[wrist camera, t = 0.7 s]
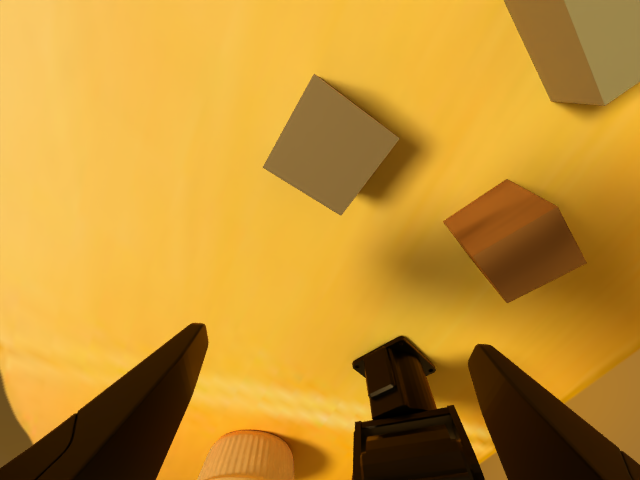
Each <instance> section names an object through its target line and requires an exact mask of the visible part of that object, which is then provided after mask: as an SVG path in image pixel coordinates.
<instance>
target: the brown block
mask: <svg viewBox="0 0 640 480" xmlns="http://www.w3.org/2000/svg"><path fill="white" fill-rule="evenodd" d="M399 139H400V138H399V137H397V136H396V135H395V134H393V133H392V132H391V131H389V130H388V129H387V128H385V127H384V126H383V125H382V124H380V123H379V122H378V121H376V120H375V119H374V118H372V117H371V116H370V115H368V114H367V113H366V112H364V111H363V110H362V109H360V108H359V107H358V106H356V105H355V104H354V103H352V102H351V101H350V100H348V99H347V98H346V97H344V96H343V95H342V94H341V93H339V92H338V91H337V90H335V89H334V88H333V87H331V86H330V85H329V84H327V83H326V82H325V81H323V80H322V79H321V78H319V77H318V76H317V75H315V74H314V75H313V76H312V78H311V80H310V82H309V84H308V86H307V87H306V89H305V91H304V93H303V95H302V97H301V98H300V100H299V102H298V104H297V106H296V108H295V109H294V111H293V113H292V115H291V117H290V119H289V120H288V122H287V124H286V126H285V128H284V129H283V131H282V133H281V135H280V137H279V139H278V140H277V142H276V144H275V146H274V148H273V150H272V151H271V153H270V155H269V157H268V159H267V161H266V162H265V164H264V166H263V168H264V169H266V170H268V171H269V172H271V173H272V174H274V175H276V176H277V177H279V178H280V179H282V180H284V181H285V182H287V183H289V184H290V185H292V186H293V187H295V188H297V189H298V190H300V191H302V192H303V193H305V194H306V195H308V196H310V197H311V198H313V199H315V200H316V201H318V202H319V203H321V204H323V205H324V206H326V207H328V208H329V209H331V210H332V211H334V212H336V213H337V214H339V215H342V214H343V213H344V211H345V210H346V209H347V207H348V206H349V205H350V203H351V202H352V201H353V199H354V198H355V197H356V195H357V194H358V193H359V192H360V190H361V189H362V188H363V186H364V185H365V184H366V182H367V181H368V180H369V178H370V177H371V176H372V174H373V173H374V172H375V171H376V169H377V168H378V167H379V165H380V164H381V163H382V161H383V160H384V159H385V157H386V156H387V155H388V153H389V152H390V151H391V150H392V148H393V147H394V146H395V144H396V143H397V142H398V140H399Z"/></svg>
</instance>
